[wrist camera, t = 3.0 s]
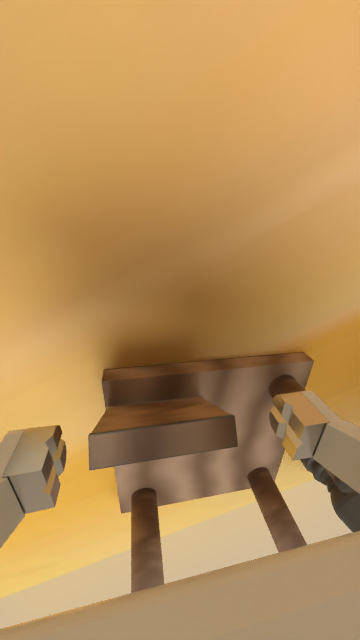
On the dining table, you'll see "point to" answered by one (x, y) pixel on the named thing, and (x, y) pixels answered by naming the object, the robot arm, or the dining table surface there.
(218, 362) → the stool
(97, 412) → the dining table surface
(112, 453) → the hinged leg
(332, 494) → the candle holder
